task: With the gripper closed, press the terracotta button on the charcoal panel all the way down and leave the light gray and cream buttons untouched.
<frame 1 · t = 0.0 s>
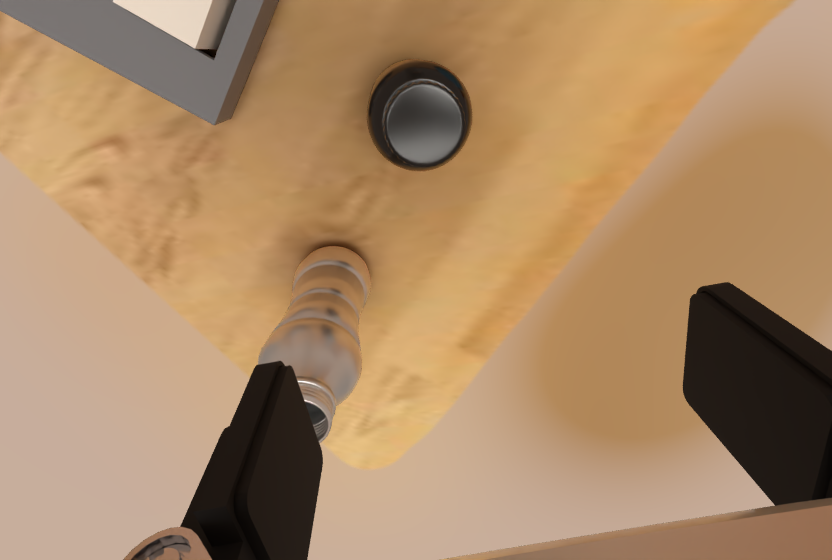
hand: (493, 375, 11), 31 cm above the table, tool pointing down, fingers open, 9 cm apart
plastic bottle: (335, 271, 44), on the table
supplement bottle: (413, 105, 38), on the table
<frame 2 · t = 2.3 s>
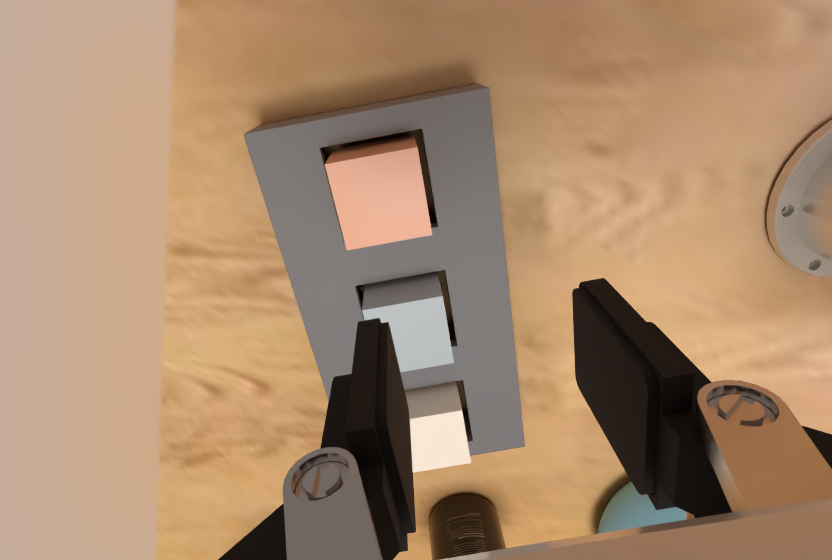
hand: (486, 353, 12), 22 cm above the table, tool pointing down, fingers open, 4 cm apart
light gray button: (408, 320, 32), point 4 cm above the table, slide at 0.0 cm
terracotta button: (381, 190, 28), point 4 cm above the table, slide at 0.0 cm
cream button: (429, 421, 36), point 4 cm above the table, slide at 0.0 cm
button panel: (406, 290, 36), on the table
supplement bottle: (462, 514, 47), on the table
sugar bowl: (662, 508, 49), on the table
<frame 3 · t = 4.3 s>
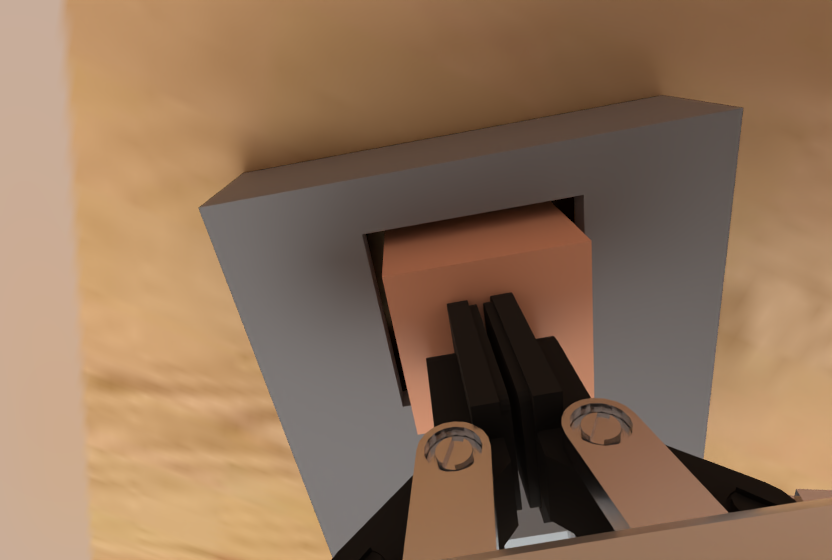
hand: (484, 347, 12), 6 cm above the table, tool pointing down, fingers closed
light gray button: (513, 527, 18), point 4 cm above the table, slide at 0.0 cm
terracotta button: (482, 306, 14), point 4 cm above the table, slide at 0.7 cm, touching gripper
button panel: (491, 440, 22), on the table
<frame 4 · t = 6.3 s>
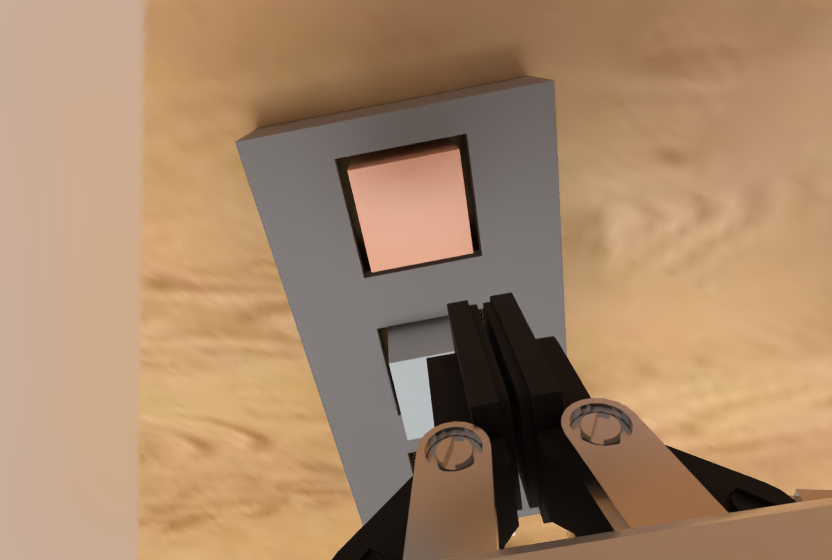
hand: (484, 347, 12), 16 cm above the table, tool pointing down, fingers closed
light gray button: (442, 368, 26), point 4 cm above the table, slide at 0.0 cm
terracotta button: (410, 200, 24), point 2 cm above the table, slide at 2.0 cm
cream button: (463, 484, 30), point 4 cm above the table, slide at 0.0 cm
button panel: (433, 327, 30), on the table
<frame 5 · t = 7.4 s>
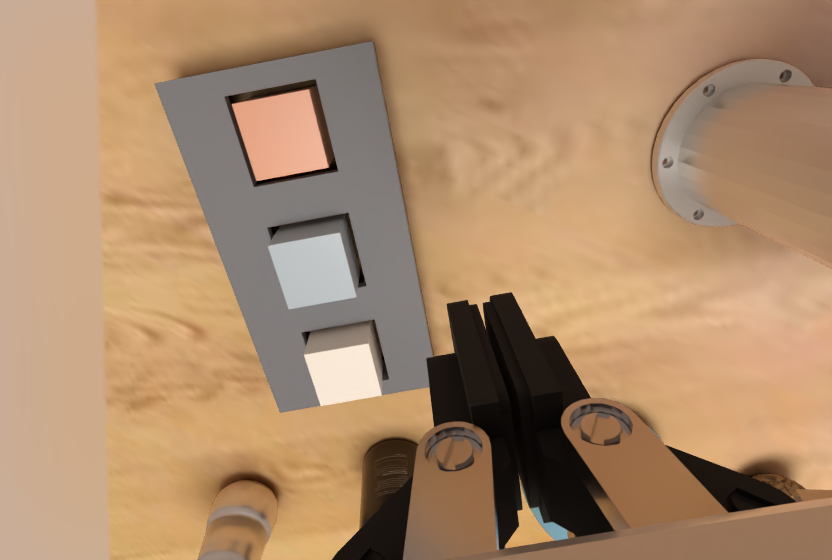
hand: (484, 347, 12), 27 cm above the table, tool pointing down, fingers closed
light gray button: (317, 260, 35), point 4 cm above the table, slide at 0.0 cm
terracotta button: (288, 131, 33), point 2 cm above the table, slide at 2.0 cm
decorative egg: (752, 480, 55), on the table
cream button: (346, 359, 39), point 4 cm above the table, slide at 0.0 cm
plastic bottle: (250, 491, 51), on the table
button panel: (324, 239, 39), on the table
supplement bottle: (395, 460, 51), on the table
sugar bowl: (584, 455, 52), on the table
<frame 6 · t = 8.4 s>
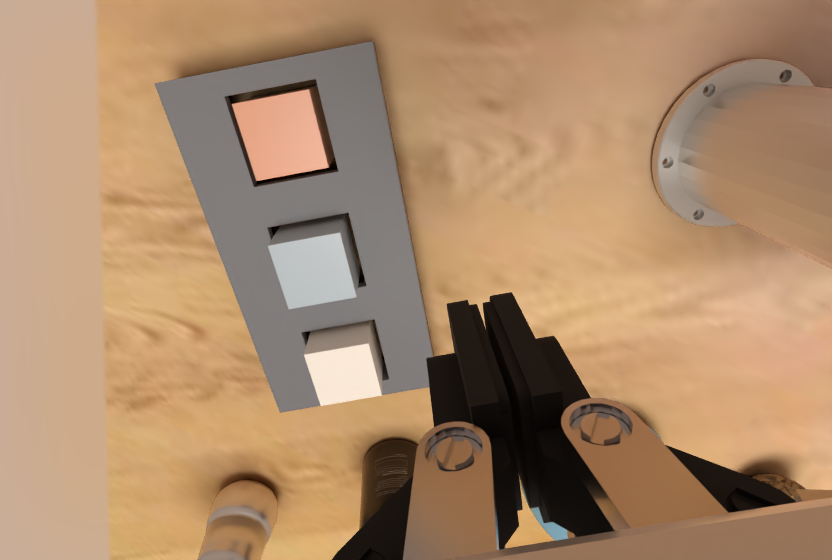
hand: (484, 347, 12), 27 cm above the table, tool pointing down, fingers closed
light gray button: (317, 260, 35), point 4 cm above the table, slide at 0.0 cm
terracotta button: (288, 131, 33), point 2 cm above the table, slide at 2.0 cm
decorative egg: (752, 480, 55), on the table
cream button: (346, 359, 39), point 4 cm above the table, slide at 0.0 cm
plastic bottle: (250, 491, 51), on the table
button panel: (325, 239, 39), on the table
supplement bottle: (395, 460, 51), on the table
sugar bowl: (584, 455, 52), on the table
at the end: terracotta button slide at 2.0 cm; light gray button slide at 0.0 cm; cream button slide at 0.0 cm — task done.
